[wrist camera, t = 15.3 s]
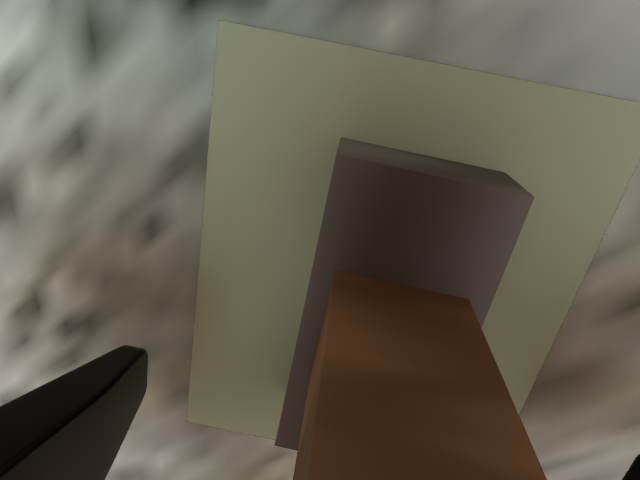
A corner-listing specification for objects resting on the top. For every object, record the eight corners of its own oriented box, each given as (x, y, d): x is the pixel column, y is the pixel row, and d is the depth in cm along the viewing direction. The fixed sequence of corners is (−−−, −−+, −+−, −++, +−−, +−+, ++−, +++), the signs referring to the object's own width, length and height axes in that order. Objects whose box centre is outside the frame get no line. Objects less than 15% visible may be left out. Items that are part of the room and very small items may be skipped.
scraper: (504, 171, 11) (822, 437, 3) (413, 420, 14) (470, 841, 6) (340, 137, 11) (290, 321, 3) (286, 393, 14) (199, 779, 6)
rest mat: (651, 104, 10) (664, 107, 10) (483, 470, 15) (486, 483, 14) (224, 21, 10) (218, 19, 10) (191, 410, 15) (186, 421, 15)
